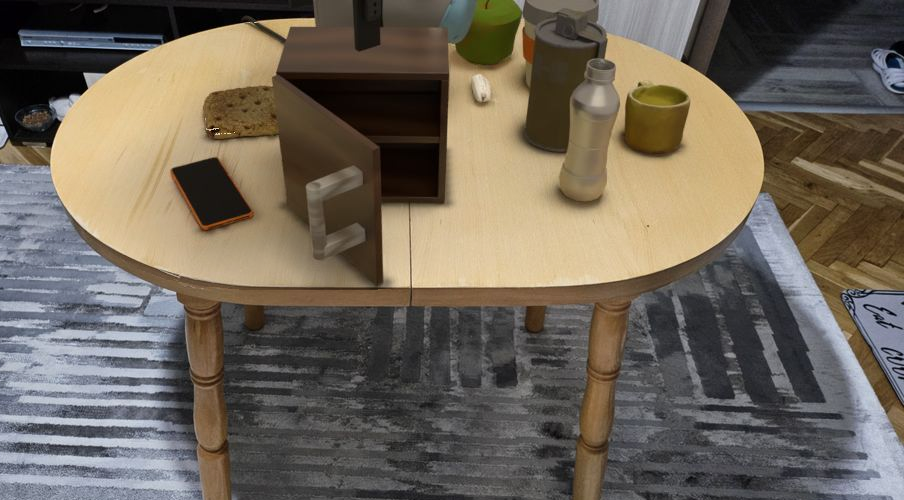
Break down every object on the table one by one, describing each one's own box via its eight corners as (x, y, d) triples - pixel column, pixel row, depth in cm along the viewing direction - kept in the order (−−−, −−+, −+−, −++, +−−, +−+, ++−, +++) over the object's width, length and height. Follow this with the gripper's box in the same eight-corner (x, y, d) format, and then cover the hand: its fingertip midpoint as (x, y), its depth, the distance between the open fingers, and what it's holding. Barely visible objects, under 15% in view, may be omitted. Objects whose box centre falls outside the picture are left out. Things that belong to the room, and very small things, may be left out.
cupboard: (444, 203, 115) (449, 73, 102) (290, 201, 115) (275, 71, 102) (443, 151, 125) (447, 27, 112) (302, 150, 126) (290, 26, 113)
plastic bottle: (593, 212, 113) (618, 80, 100) (549, 198, 116) (567, 68, 103) (610, 190, 117) (636, 61, 104) (567, 176, 120) (586, 49, 107)
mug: (700, 152, 121) (691, 88, 117) (630, 167, 124) (619, 105, 120) (689, 126, 132) (680, 67, 127) (625, 140, 134) (614, 82, 130)
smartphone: (203, 232, 109) (202, 227, 109) (169, 173, 121) (168, 168, 120) (256, 216, 112) (255, 211, 111) (218, 160, 123) (217, 155, 123)
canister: (510, 136, 129) (521, 14, 116) (548, 112, 134) (563, -7, 121) (567, 161, 123) (586, 35, 110) (604, 135, 129) (626, 13, 116)
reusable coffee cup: (579, 66, 147) (592, -16, 138) (594, 99, 138) (608, 13, 128) (511, 67, 147) (518, -15, 137) (521, 100, 138) (529, 14, 128)
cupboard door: (330, 308, 98) (319, 170, 85) (243, 222, 111) (222, 92, 98) (383, 283, 101) (380, 147, 88) (292, 202, 115) (278, 74, 102)
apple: (508, 42, 155) (513, -17, 148) (524, 70, 146) (530, 9, 139) (444, 46, 154) (446, -13, 147) (456, 74, 145) (459, 13, 138)
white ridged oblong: (474, 106, 136) (475, 91, 134) (469, 84, 142) (469, 70, 140) (493, 106, 136) (494, 91, 134) (486, 84, 142) (487, 69, 140)
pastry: (174, 124, 132) (170, 107, 130) (246, 83, 143) (243, 67, 141) (253, 155, 125) (250, 138, 123) (323, 109, 135) (321, 93, 133)
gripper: (219, -214, 80) (248, -4, 94) (359, -165, 65) (368, 78, 79) (285, -224, 83) (303, -19, 97) (433, -179, 68) (429, 56, 82)
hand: (332, 25), depth 88 cm, fingers open, 13 cm apart
